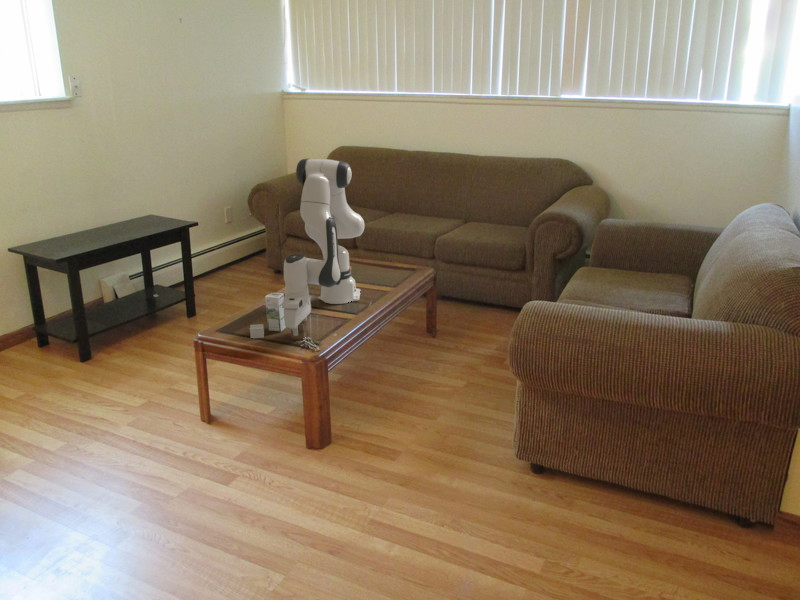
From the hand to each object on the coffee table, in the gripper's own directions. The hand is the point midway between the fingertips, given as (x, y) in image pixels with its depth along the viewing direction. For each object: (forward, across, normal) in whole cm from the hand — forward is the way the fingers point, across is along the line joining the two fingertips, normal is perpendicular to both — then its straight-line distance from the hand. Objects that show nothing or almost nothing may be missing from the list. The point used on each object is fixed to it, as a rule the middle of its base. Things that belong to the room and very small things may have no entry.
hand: (299, 331), depth 263 cm
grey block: (+2, +1, -17) cm, 17 cm away
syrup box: (+2, -7, -12) cm, 14 cm away
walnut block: (+2, 0, 0) cm, 2 cm away
